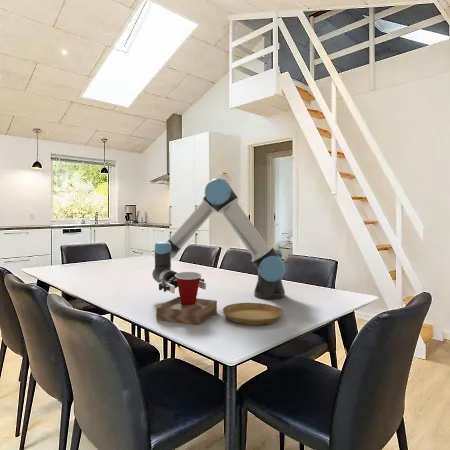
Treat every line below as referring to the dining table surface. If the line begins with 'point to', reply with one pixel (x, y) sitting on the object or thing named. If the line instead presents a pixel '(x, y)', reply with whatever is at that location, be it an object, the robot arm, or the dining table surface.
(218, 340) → the dining table surface
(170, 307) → the walnut podium
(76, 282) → the dining table surface
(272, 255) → the robot arm
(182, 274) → the plastic cup
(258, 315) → the plant saucer
